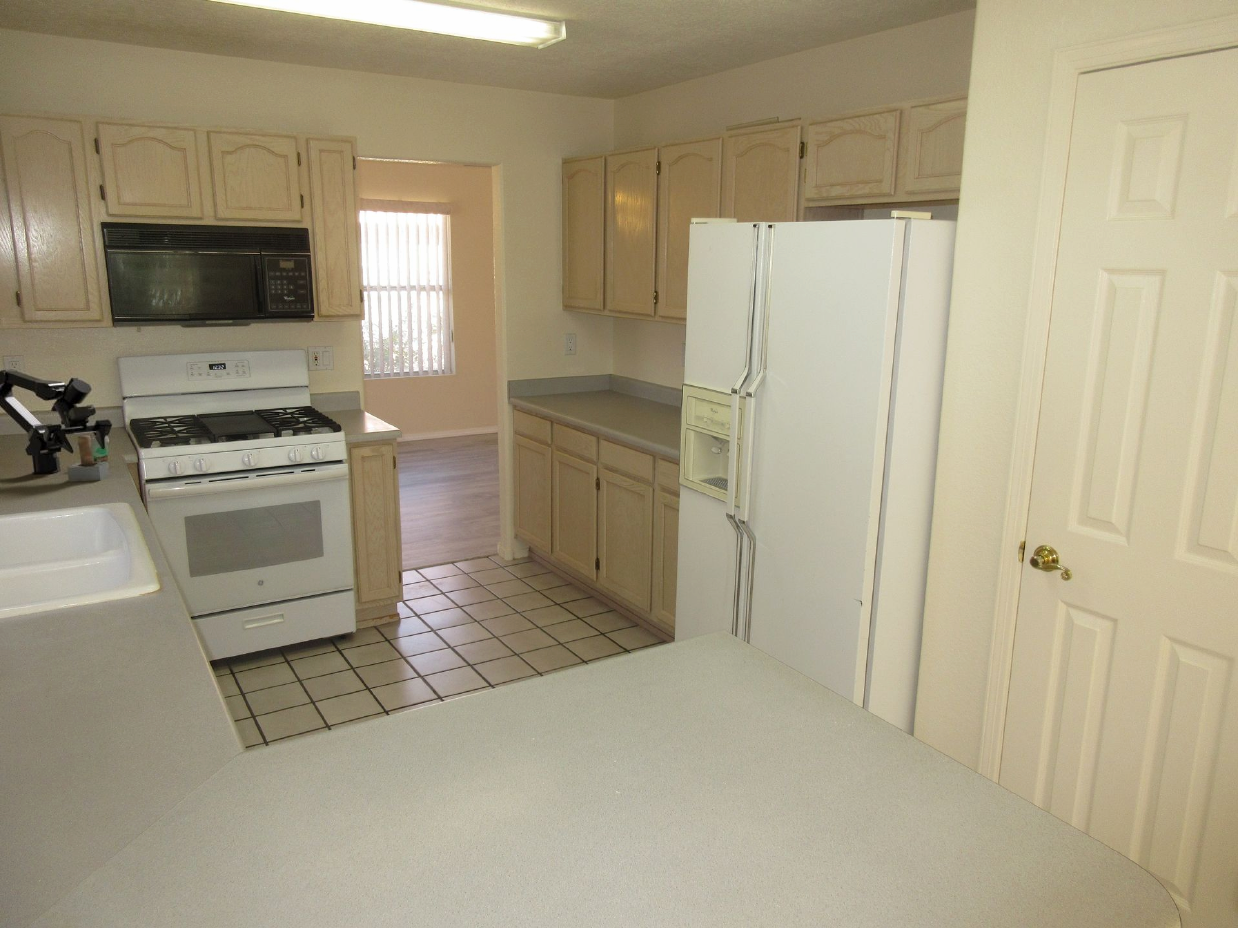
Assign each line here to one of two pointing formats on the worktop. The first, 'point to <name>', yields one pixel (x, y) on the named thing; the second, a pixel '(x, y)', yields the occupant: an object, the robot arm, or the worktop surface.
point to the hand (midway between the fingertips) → (88, 450)
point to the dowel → (85, 450)
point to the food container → (99, 450)
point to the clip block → (88, 471)
